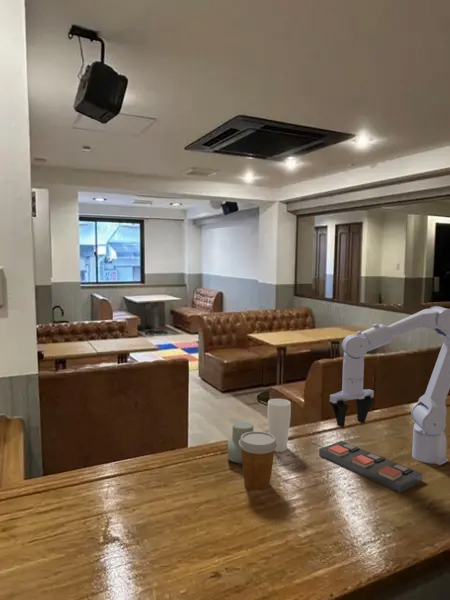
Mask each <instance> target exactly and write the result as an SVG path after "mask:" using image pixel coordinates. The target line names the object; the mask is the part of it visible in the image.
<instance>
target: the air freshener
mask: <svg viewBox="0 0 450 600" xmlns="http://www.w3.org/2000/svg"><path fill="white" fill-rule="evenodd" d="M253 431H254V425H253V424H252V423H251V422H248V421H237V422H235V423H234V424H232V432H231V433H232V437H230V438H228V439H227V459H228V460H229V461H231V462H234V463H236V464H240V465H242V456H241V447H240V445H239V440H240V438H241V436H242V435H243V434H244V433H247V432H253Z"/></svg>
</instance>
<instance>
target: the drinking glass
mask: <svg viewBox="0 0 450 600" xmlns="http://www.w3.org/2000/svg"><path fill="white" fill-rule="evenodd" d="M291 407H292V403H291V401H290V400H288V399H284V398H271V399H269V400H268V401H267V431H268V432H267V433H269V434H271V435H273V436H274V437H275V440H276V442H277V446H276V449H275V452H277V453H280V452H281V453H282V452H286V451H287V450H288V442H289V434H290V433H289V432H290V426H291V425H290V424H291V414H292V413H291V412H292V409H291Z"/></svg>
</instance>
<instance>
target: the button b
mask: <svg viewBox="0 0 450 600" xmlns="http://www.w3.org/2000/svg"><path fill="white" fill-rule="evenodd" d="M352 463H354V464H356V465H358V466H360V467H363V468H367V467H369V466H371V465H373V464H374V460H372V459H370V458H368V457H365V456H363V455H360V456H357V457H355V458H352Z"/></svg>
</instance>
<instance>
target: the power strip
mask: <svg viewBox="0 0 450 600" xmlns="http://www.w3.org/2000/svg"><path fill="white" fill-rule="evenodd" d="M311 444H312V445H314V446H317V447H318V448H319V451H318V456H320V457H322V458H324V459H326V460H327V461H330V462H331V463H335V464H337V465H339V466H341V467H343V468H345V469H347V470H350V471H352V472H354V473H356V474H359V475H360V476H362V477H365V478H367V479H370V480H371V481H373V482H375V483H378V484H380V485H382V486H384V487H387V488H388V489H391V490H393V491H396V492H397V493H399V494H400V493H403V492H404V491H407V490H409V489H410V488H411V487H414V486H415V485H417V484H419V483H421V482H423V473H422V472H419V471H417V470H415V469H412V468H410V467H407V466H405V465H402V464H399V463H397V462H395V461H393V460H390V459H387V458H385V457H383V456H380V455H377V454H376V453H372V452H370V451H368V450H365V449H363V448H360V447H358V446H355V445H354V444H351V443H348V442H345V441H344V440H340V441H337V442H335V443H331V444H329V445H326V446H320V445H318V444H316V443H314V442H311ZM336 445H339V446H341V447H344V448H346V449H349V454H346V455H344V456H341V457H338V456H335V455H333V454H331V453H329V452H328V448H330V447H333V446H336ZM360 455H363V456H365V457H368V458H370V459H372V460H374V464H373V465H371V466H369V467H367V468H363V467H360V466H358V465H356V464H354V463H352V458H355V457H357V456H360ZM386 466H389V467H392V468H394V469H396V470H399V471H401V472H402V477H400V478H398V479H396V480H394V481H392V480H390V479H387V478H385V477H383V476H381V475H378V473H379V470H380V469H382V468H384V467H386Z"/></svg>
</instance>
